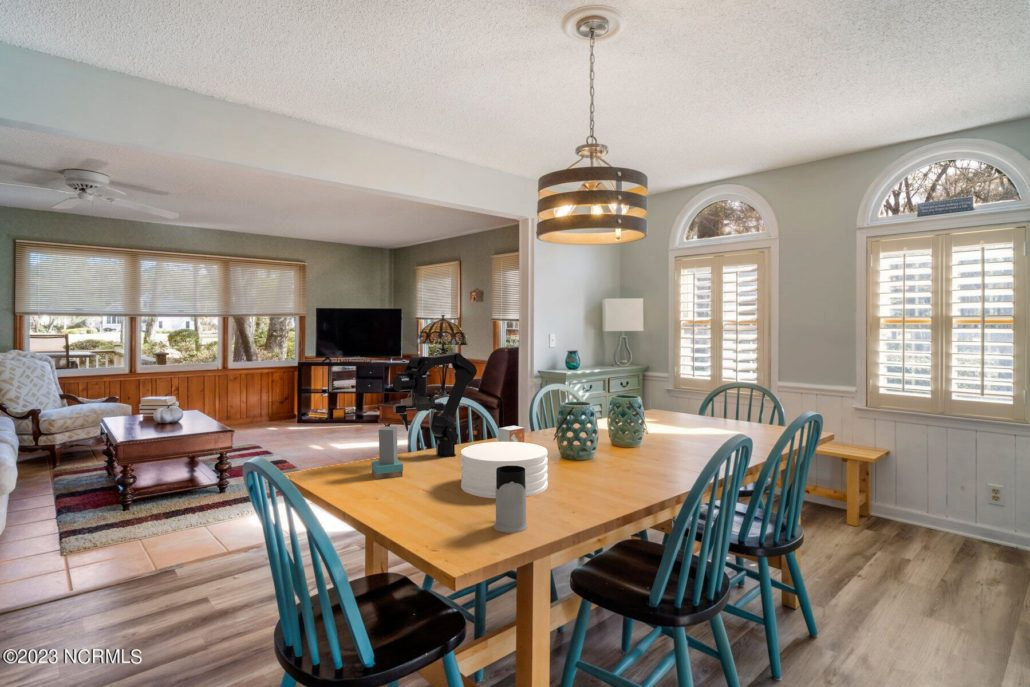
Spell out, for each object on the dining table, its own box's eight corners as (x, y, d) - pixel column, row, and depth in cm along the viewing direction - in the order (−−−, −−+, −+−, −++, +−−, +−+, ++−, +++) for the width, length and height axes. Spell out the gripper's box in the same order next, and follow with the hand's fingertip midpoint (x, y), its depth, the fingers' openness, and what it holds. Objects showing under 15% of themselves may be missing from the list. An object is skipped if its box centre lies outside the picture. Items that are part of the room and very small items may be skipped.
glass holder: (494, 533, 143) (494, 474, 142) (492, 514, 157) (492, 460, 156) (529, 532, 143) (529, 473, 143) (524, 513, 158) (523, 459, 157)
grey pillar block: (397, 460, 201) (396, 426, 200) (394, 464, 196) (393, 429, 195) (383, 460, 201) (382, 426, 200) (379, 464, 196) (378, 429, 195)
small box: (509, 465, 211) (509, 430, 210) (498, 462, 216) (497, 427, 215) (525, 461, 217) (524, 427, 216) (513, 458, 221) (513, 425, 221)
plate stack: (491, 470, 204) (491, 438, 204) (562, 481, 190) (562, 447, 190) (443, 490, 180) (443, 454, 180) (520, 504, 166) (520, 465, 165)
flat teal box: (397, 471, 204) (397, 465, 204) (402, 478, 196) (402, 471, 196) (371, 474, 201) (371, 467, 201) (375, 481, 192) (375, 473, 192)
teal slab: (397, 465, 204) (397, 458, 204) (403, 471, 196) (403, 464, 196) (371, 467, 200) (371, 461, 200) (376, 474, 192) (376, 467, 192)
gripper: (398, 392, 205) (398, 435, 205) (448, 390, 212) (449, 432, 212) (392, 389, 215) (393, 430, 216) (441, 387, 222) (441, 427, 223)
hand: (419, 430), depth 216 cm, fingers open, 9 cm apart
